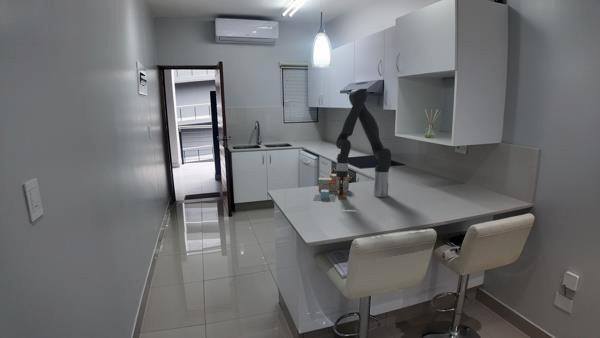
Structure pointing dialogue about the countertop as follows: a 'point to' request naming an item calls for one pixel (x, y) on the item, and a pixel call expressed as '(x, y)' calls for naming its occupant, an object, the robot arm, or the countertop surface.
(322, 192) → the teal cube
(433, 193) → the countertop surface
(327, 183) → the stack of blocks
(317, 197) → the build mat
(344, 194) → the walnut cube
